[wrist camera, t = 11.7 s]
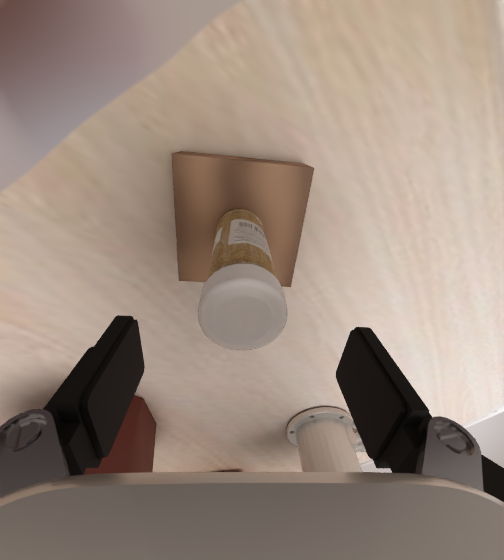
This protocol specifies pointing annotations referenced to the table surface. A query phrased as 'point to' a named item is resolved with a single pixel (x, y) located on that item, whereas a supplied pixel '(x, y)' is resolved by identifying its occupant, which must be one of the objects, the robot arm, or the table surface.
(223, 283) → the sprinkles bottle
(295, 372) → the table surface
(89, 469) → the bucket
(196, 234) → the walnut plinth
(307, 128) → the table surface
